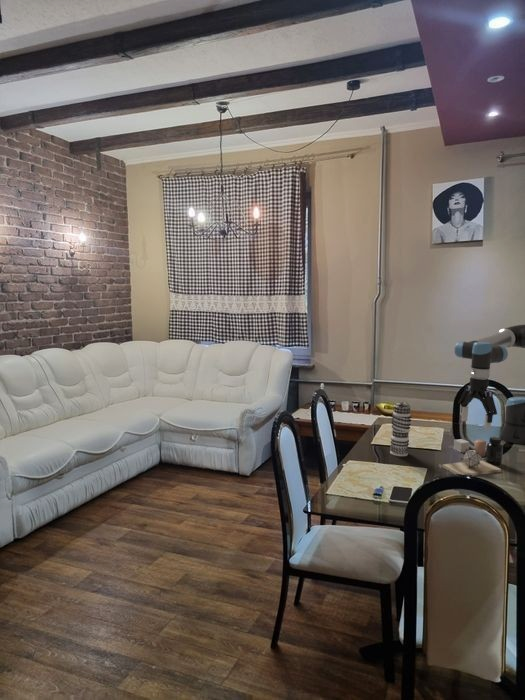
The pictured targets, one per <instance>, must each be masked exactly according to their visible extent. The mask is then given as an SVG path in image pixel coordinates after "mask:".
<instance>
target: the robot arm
mask: <svg viewBox="0 0 525 700" xmlns="http://www.w3.org/2000/svg"><path fill="white" fill-rule="evenodd" d="M511 347H514V348H522V349H525V324H517V325H512V326H509V327H505V328H502V329H500V330H499V331H498V332H495V333H492V334H491V335H487V336H486V335H485V336H483V337H479V338H477V339H473V340H471V341H457V342H456V344H455V346H454V355H455V356H456V357H458V358H462V359H468V360H471V366H470V378H469V385H465V386H464V390H463V392H462V394H461V396H460V398H459V399H458V402H457V403H458V405H460V406H461V411H460V413H461V420H460V421H461V422H467V421H468V417H469V416H468V415H469V404H470V403H471V402H472V400H474V399H476V400H479V401H480V402H481V404H482V406H483V409H484V410H485V413H486V414H485V416H484V428H483V429H484V430H485V431H489V430H491V429H492V428H491V427H492V423H493V418H494V417H493V416H495V415H498V412H497V407H496V404H495V400H494V396H493V395H494V393H493V392H494V391H488V388H489V382H490V379H489V378H490V372H491V371H490V370H491V364H494V363H496V364H499V363H501V362H504V361H505V360H506V359H508V356H509V355H508V354H509V353H508V349H507V348H511ZM499 438H500V439H501V441H502V440H503V441H504V442H508V443H512V444H520V445H525V396H512V397H509V398H507V400H506V404H505V415H504V425H503V427H502V428H501V431H500V433H499Z"/></svg>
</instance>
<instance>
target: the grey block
mask: <svg viewBox="0 0 525 700" xmlns="http://www.w3.org/2000/svg"><path fill="white" fill-rule="evenodd" d="M454 449H455V450H454ZM466 449H467V450H470V441H468V440H465V439H464V438H460V439H453V450H454V451H456V450H457V451H456V452H458V451H459V452H458V453H460V452H462V453H464V452H465V453H466Z"/></svg>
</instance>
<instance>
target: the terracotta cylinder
mask: <svg viewBox="0 0 525 700" xmlns="http://www.w3.org/2000/svg"><path fill="white" fill-rule="evenodd" d="M474 448H475V450H476V451H477V452H478V454H479V455H480V456H481V457H484V458H486V448H487V441H485V440H484V439H483V440H482V439H474V447H473V449H474Z"/></svg>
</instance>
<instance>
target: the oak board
mask: <svg viewBox="0 0 525 700" xmlns="http://www.w3.org/2000/svg"><path fill="white" fill-rule="evenodd" d="M479 463H480V464H478V466H479V467H477V466H472V467H470V468H469V466H468V465H467V464H466V462H465V461H461V462H453V463H452V462H451V463H445V464H442V466H441V467H442V468H443V469H445V470H446V471H448V470H449V472H450V473H452V474H454V475H456V474H462V475H471V474H472V476H471V477H474V476H478V475H479V476H480V475H487V474H488V475H489V474H495V472H496V473H501V472H502V469H501V468H499V466H493V465H491V464H489V463H487V462H486V461H484V460H482V459H481V460H480V462H479Z"/></svg>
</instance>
